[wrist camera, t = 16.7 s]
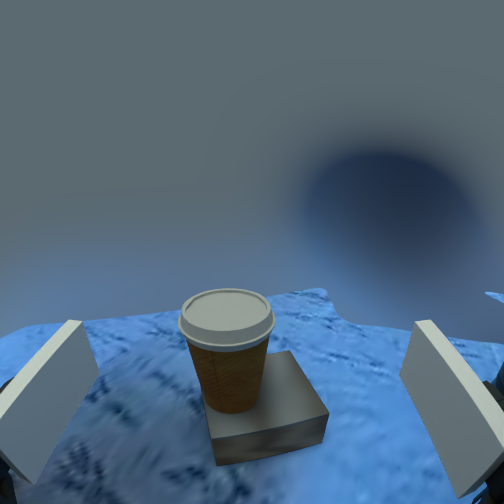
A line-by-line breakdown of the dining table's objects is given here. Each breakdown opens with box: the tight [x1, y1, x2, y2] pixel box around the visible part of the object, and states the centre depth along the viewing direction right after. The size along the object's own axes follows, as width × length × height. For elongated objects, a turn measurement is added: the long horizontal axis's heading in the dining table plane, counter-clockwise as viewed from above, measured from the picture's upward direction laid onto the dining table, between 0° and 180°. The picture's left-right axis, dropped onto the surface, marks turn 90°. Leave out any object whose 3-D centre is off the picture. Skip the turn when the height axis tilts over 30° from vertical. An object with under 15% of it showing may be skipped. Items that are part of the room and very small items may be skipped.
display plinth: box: [200, 350, 329, 466], centre depth 34 cm, size 13×13×6 cm
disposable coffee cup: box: [178, 289, 276, 414], centre depth 30 cm, size 10×10×12 cm
